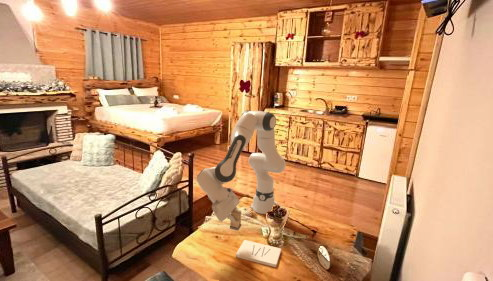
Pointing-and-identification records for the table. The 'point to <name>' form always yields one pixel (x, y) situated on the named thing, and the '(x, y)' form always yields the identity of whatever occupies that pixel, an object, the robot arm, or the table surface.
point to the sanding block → (237, 215)
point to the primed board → (259, 253)
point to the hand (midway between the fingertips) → (237, 218)
